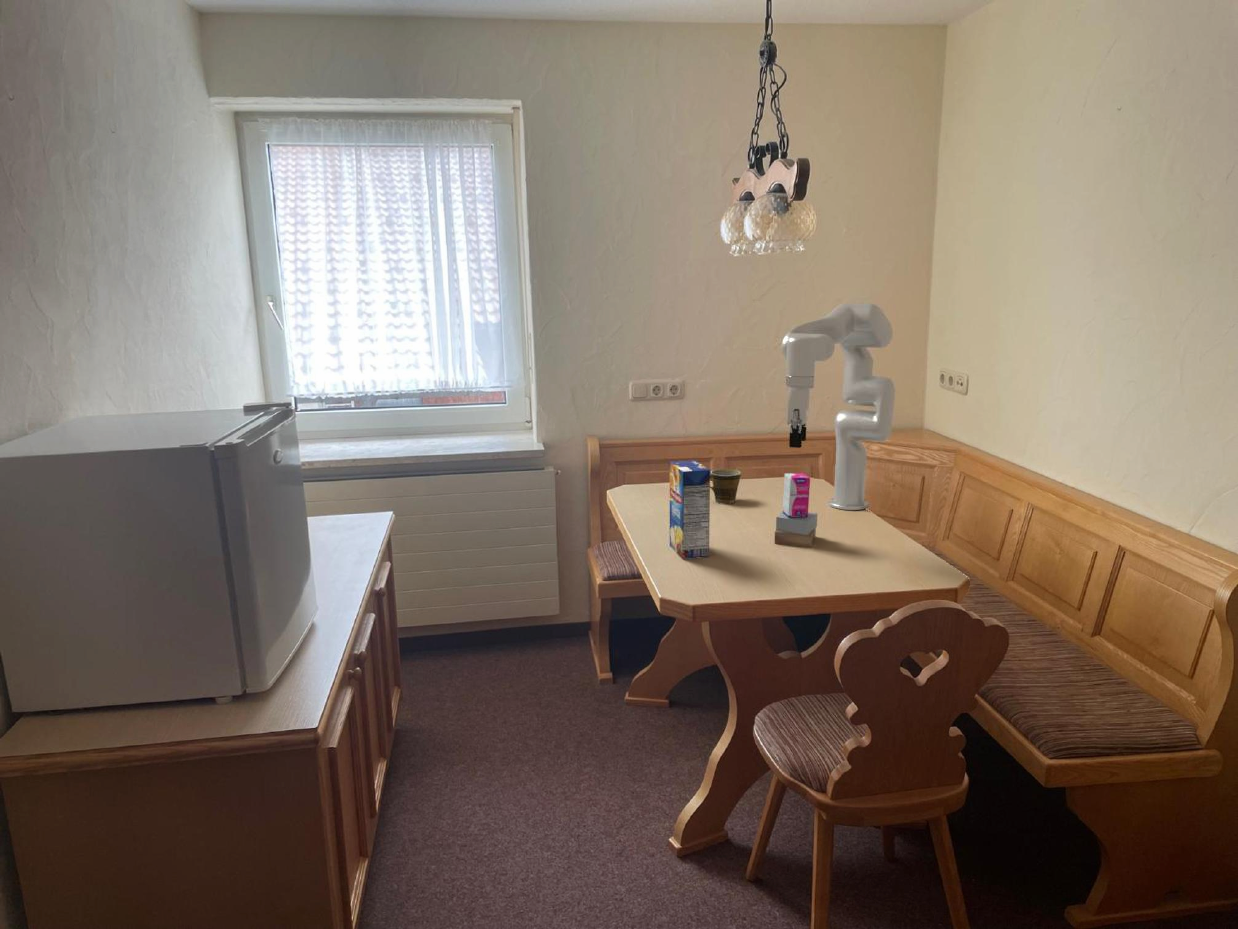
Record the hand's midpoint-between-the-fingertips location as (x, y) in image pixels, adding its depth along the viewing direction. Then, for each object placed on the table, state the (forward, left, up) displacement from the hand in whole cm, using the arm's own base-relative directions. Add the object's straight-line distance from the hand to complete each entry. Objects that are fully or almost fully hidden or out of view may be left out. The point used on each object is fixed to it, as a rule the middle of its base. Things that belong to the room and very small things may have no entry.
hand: (797, 443), depth 220 cm
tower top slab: (0, +1, -25) cm, 25 cm away
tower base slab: (0, 0, -29) cm, 29 cm away
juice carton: (+18, -26, -28) cm, 42 cm away
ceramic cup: (-35, -29, -28) cm, 53 cm away
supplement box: (0, 0, -21) cm, 21 cm away
